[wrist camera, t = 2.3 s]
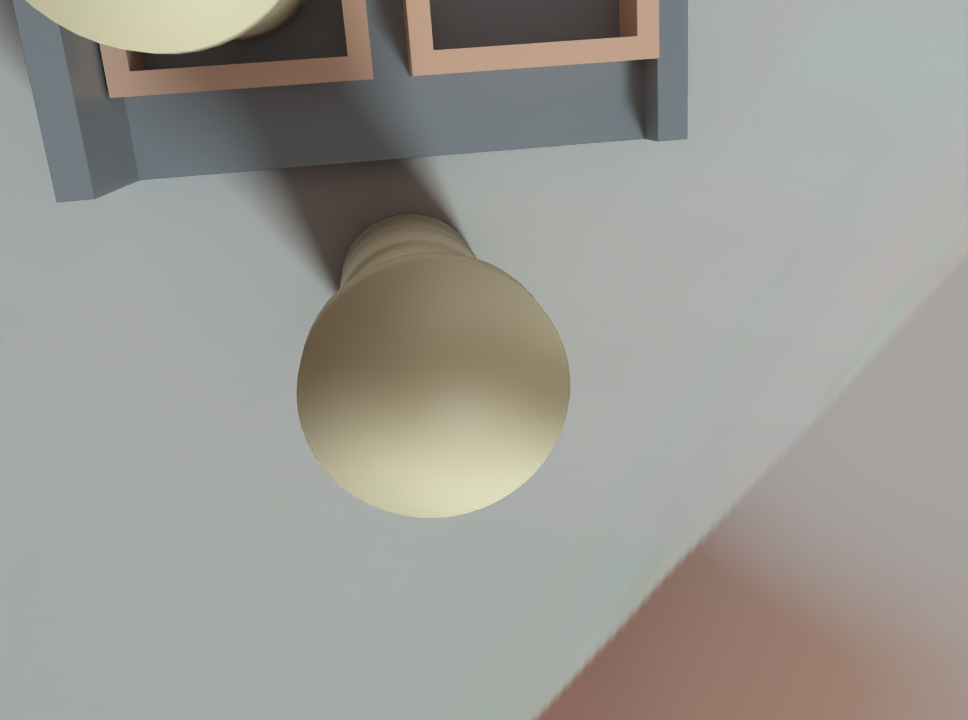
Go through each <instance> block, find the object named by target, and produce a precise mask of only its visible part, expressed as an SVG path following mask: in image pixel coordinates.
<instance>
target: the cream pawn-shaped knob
mask: <svg viewBox="0 0 968 720" xmlns="http://www.w3.org/2000/svg"><path fill="white" fill-rule="evenodd" d="M569 397H570V375H569V366H568V361H567V357H566V353H565V349H564V346H563V343H562V341H561V339H560V336H559V334H558V331H557V330H556V328H555V326H554V325H553V323H552V321H551V319H550V318H549V316H548V315H547V314H546V312H545V311H544V310H543V309H542V307H541V306H540V305H539V303H538V302H537V301H536V300H535V298H534V297H533V296H532V295H531V293H530V292H529V291H528V290H527V289H525V288H524V287H523V286H522V285H521V284H520V283H519V282H518V281H517V280H515V279H514V278H513V277H511V276H510V275H509V274H507V273H506V272H504V271H502V270H501V269H499V268H497V267H495V266H493V265H491V264H489V263H487V262H484V261H481V260H479V259H477V258H476V257H475V255H474V254H473V252H472V250H471V249H470V247H469V246H468V244H467V243H466V241H465V240H464V239H463V238H462V236H461V235H460V234H459V233H458V232H457V231H455V230H454V229H453V228H452V227H450V226H449V225H447V224H446V223H444V222H442V221H440V220H438V219H435V218H433V217H429V216H425V215H420V214H401V215H395V216H391V217H388V218H385V219H383V220H380V221H378V222H376V223H375V224H373V225H371V226H370V227H368V228H367V229H366V230H365V231H364V232H362V233H361V234H360V235H359V237H358V238H357V239H356V240H355V241H354V243H353V244H352V246H351V247H350V249H349V251H348V253H347V255H346V258H345V260H344V263H343V268H342V273H341V281H340V289H339V290H338V291H337V292H336V293H335V294H334V295H333V296H332V297H331V298H330V299H329V301H328V302H327V303H326V305H325V306H324V307H323V309H322V310H321V312H320V313H319V314H318V316H317V318H316V320H315V322H314V324H313V326H312V327H311V329H310V332H309V334H308V337H307V340H306V343H305V345H304V350H303V354H302V358H301V363H300V368H299V373H298V380H297V405H298V413H299V418H300V422H301V427H302V430H303V432H304V435H305V438H306V440H307V443H308V445H309V447H310V448H311V450H312V452H313V454H314V456H315V458H316V459H317V460H318V462H319V463H320V464H321V466H322V467H323V469H324V470H325V471H326V472H327V473H328V474H329V475H330V476H331V477H332V478H333V480H334V481H335V482H336V483H337V484H339V485H340V486H341V487H342V488H344V489H345V490H346V491H347V492H349V493H350V494H352V495H353V496H355V497H357V498H358V499H360V500H362V501H363V502H365V503H367V504H369V505H372V506H374V507H376V508H378V509H381V510H384V511H387V512H391V513H394V514H398V515H404V516H410V517H420V518H438V517H450V516H455V515H460V514H465V513H468V512H472V511H475V510H478V509H481V508H483V507H486V506H488V505H490V504H492V503H495V502H497V501H498V500H500V499H502V498H504V497H505V496H507V495H509V494H510V493H512V492H513V491H514V490H516V489H517V488H518V487H520V486H521V485H522V484H523V483H525V482H526V481H527V480H528V479H529V478H530V477H531V476H532V475H533V474H534V473H535V472H536V471H537V470H538V468H539V467H540V466H541V465H542V463H543V462H544V461H545V460H546V458H547V457H548V455H549V454H550V452H551V450H552V449H553V447H554V445H555V444H556V441H557V439H558V437H559V435H560V433H561V430H562V428H563V424H564V421H565V418H566V415H567V410H568V404H569Z"/></svg>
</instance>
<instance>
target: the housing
mask: <svg viewBox="0 0 968 720" xmlns="http://www.w3.org/2000/svg"><path fill="white" fill-rule="evenodd" d="M12 1H13V6H14V10H15V15H16V19H17V24H18V28H19V33H20V38H21V42H22V47H23V51H24V56H25V60H26V65H27V69H28V74H29V79H30V83H31V88H32V92H33V97H34V101H35V106H36V111H37V115H38V120H39V124H40V129H41V133H42V138H43V142H44V147H45V152H46V156H47V161H48V165H49V170H50V174H51V179H52V184H53V188H54V193H55V197H56V202H66V201H78V200H90V199H96V198H99V197H101V196H103V195H106V194H108V193H110V192H113V191H115V190H117V189H120V188H122V187H124V186H127V185H129V184H131V183H134V182H136V181H139V180H146V179H159V178H171V177H183V176H195V175H207V174H220V173H232V172H244V171H256V170H269V169H281V168H293V167H305V166H317V165H330V164H342V163H354V162H366V161H378V160H391V159H403V158H415V157H427V156H440V155H452V154H464V153H476V152H488V151H501V150H513V149H525V148H537V147H549V146H562V145H574V144H586V143H598V142H610V141H623V140H635V139H648V140H653V141H669V140H681V139H687V96H688V0H12Z"/></svg>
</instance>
